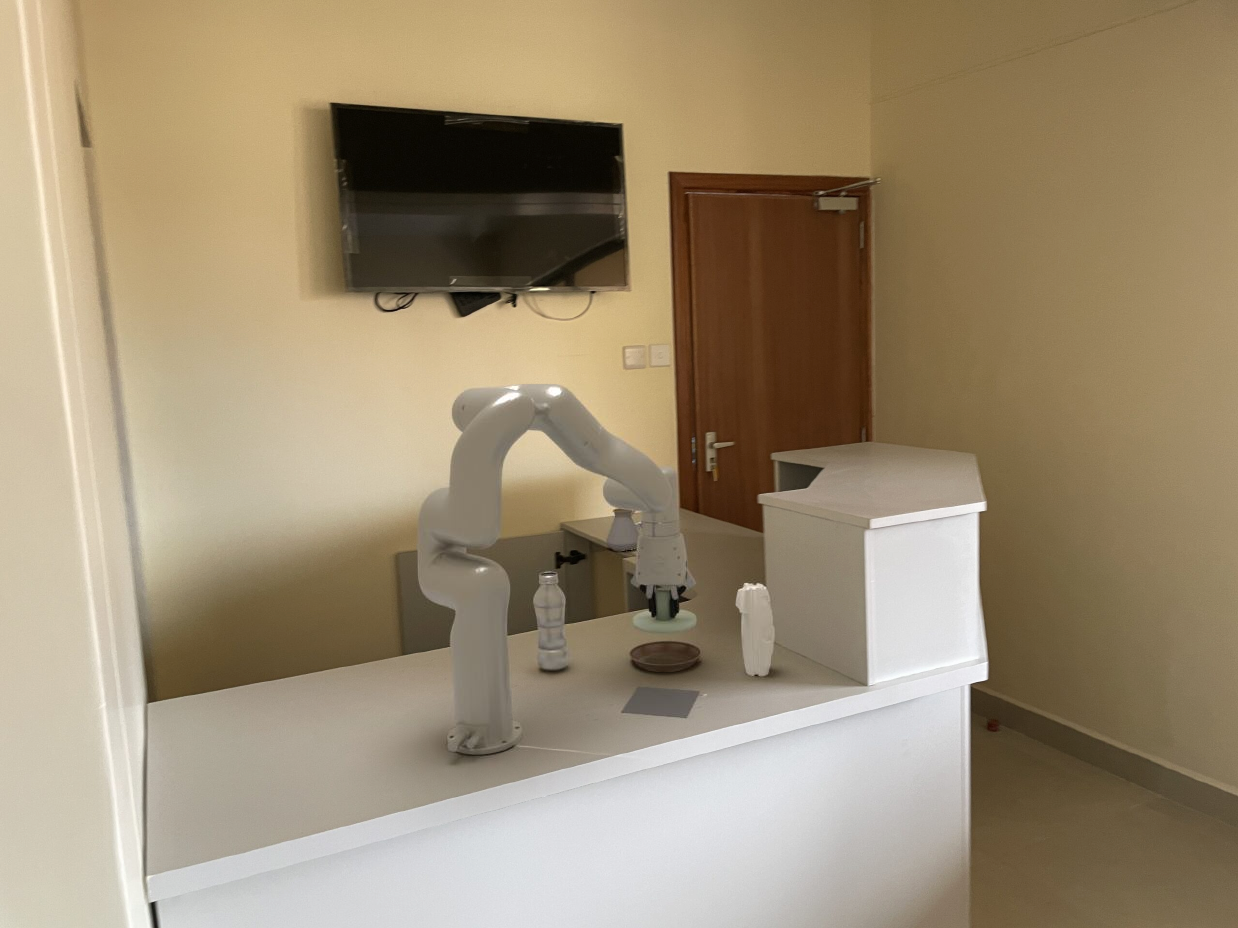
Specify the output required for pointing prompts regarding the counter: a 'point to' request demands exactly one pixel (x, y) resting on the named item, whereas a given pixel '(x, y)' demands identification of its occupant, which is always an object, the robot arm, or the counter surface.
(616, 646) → the counter surface
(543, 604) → the plastic bottle
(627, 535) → the coffee pot
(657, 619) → the lid
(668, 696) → the mat
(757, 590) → the lumpy white ridged column
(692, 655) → the saucer
